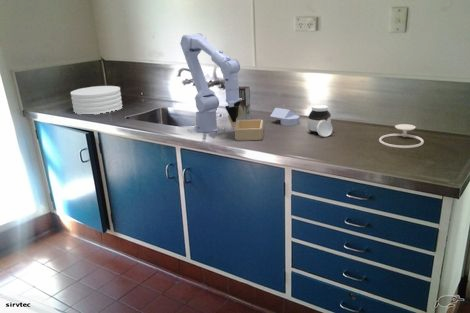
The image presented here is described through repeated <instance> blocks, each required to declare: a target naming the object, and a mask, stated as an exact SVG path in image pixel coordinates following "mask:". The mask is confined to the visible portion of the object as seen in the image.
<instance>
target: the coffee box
mask: <svg viewBox="0 0 470 313" xmlns="http://www.w3.org/2000/svg"><path fill="white" fill-rule="evenodd" d="M238 86H239V85H238ZM250 90H251V89H250V86H245V85H244V86H243V85H242V86H241V85H240V86H239V98H242V100H241V102H240V105H239V110H238V118H237V121H238V120H251V118H252V116H251V114H252V113H251V94H250Z"/></svg>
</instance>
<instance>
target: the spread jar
mask: <svg viewBox="0 0 470 313" xmlns="http://www.w3.org/2000/svg"><path fill="white" fill-rule="evenodd" d="M307 128H308V131H309V132H310V133H311V134H313V135H319V136H320V137H323V138H326V137H329V136H330V135H332V133H333V125H332V115H331V113H330V111H329V107H328V105H325V104H314V105H312V106H311V111H310V112H309V114H308V118H307Z"/></svg>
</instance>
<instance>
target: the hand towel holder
mask: <svg viewBox="0 0 470 313" xmlns="http://www.w3.org/2000/svg"><path fill="white" fill-rule="evenodd" d="M394 128H395V129H397V130H398V131H399V130H400V131H402V133H389V134H385V135H384V134H383V135H382V136H380V137H379V139H378V141H379V144H380V143H381V145H383V146H386V147H390V148H396V149H397V148H398V149H414V148H418V147H422V146H423V145H424V143H425V141H424V139H423V138H422V137H420V136H418V135H413V134H410V133H409V134H408V131H414V130H415V129H416V126H415V125H413V124H407V123H402V124H401V123H399V124H396V125H394ZM389 137H390V138H391V137H403V138H411V139H415V140H419V141H420V143H418V144H410V145H401V144H400V145H398V144H391V143H387V142H384V141H383V139H385V138H389Z"/></svg>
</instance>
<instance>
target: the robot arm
mask: <svg viewBox="0 0 470 313" xmlns="http://www.w3.org/2000/svg"><path fill="white" fill-rule="evenodd" d="M179 43H180V44H179V45H180V47H181V50H182V52H183V55H184V59H185V61H186V64H187V67H188V69H189V73H190V74H191V78H192V81H193V83H194V85H195V89H196V92H197V94H196V95H195V97H194V100H195V107H196V109H197V111H196V112H195V127H196V132H197V133H206V132H207V133H209V132H210V133H211V132H215V133H217V132H218V130H219V128H220V126H219V125H218V122H217V110H218V108H219V106H220V101H219V98H218V96H217V95H216V92H215V91H214V90H212V89H210V88H209V85H208V83H207V79H206V76H205V75H204V71H203V68H202V66H201V63H200V61H199V58H198V55H199V54H200V53H201V52H202V51H203V52H204V53H206V54H207V55H208V56H210V57H211V61H212V62H213V64H215V65H216V66H218V68H220V72H221V74H222V76H223V79H224V87H225V88H224V89H225V91H224V92H225V102H226V103H227V104H228V105H225V107H224V108H225V110H226V111H227V113H228V115H230V117H231V119H232V122H236V118H238V110H239V105H240V102H241V100H242V98H239V76H238V75H239V74H238V73H239V71H240V69H241V64H240V63H239V61H238V59H235V58H233V59H232V58H231V57H230V56H228V55H227V54H226V53H224V51H223V50H222V49H216V48H215V47H214V46H213V45H212V44H211V43H210V42H208V41H207V38H206V36H205V35H203V34H202V33H195V34H183V35H182V36H181V38H180V42H179Z"/></svg>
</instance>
